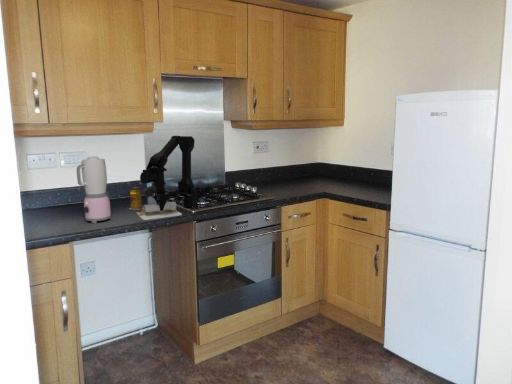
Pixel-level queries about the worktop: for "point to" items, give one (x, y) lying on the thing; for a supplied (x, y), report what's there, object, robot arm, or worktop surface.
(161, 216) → the mat
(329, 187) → the worktop surface
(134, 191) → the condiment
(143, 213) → the rack
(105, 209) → the blender
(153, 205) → the rail
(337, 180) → the worktop surface
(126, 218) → the worktop surface
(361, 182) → the worktop surface
